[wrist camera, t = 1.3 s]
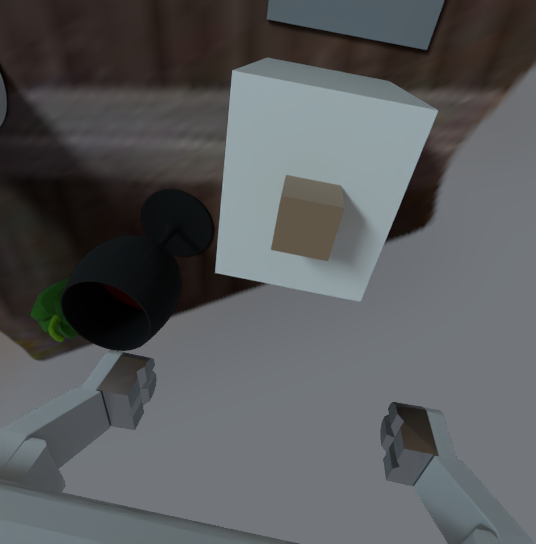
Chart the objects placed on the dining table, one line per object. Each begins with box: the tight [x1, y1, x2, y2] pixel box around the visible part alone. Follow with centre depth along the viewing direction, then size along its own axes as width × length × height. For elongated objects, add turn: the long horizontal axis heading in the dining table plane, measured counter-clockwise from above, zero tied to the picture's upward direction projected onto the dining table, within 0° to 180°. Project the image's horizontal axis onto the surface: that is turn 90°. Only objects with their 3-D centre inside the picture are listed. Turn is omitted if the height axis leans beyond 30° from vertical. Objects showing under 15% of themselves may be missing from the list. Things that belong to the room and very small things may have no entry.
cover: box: [215, 58, 438, 302], centre depth 32 cm, size 13×16×22 cm
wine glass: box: [60, 189, 213, 351], centre depth 41 cm, size 10×10×20 cm
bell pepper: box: [30, 277, 79, 342], centre depth 54 cm, size 8×8×10 cm
